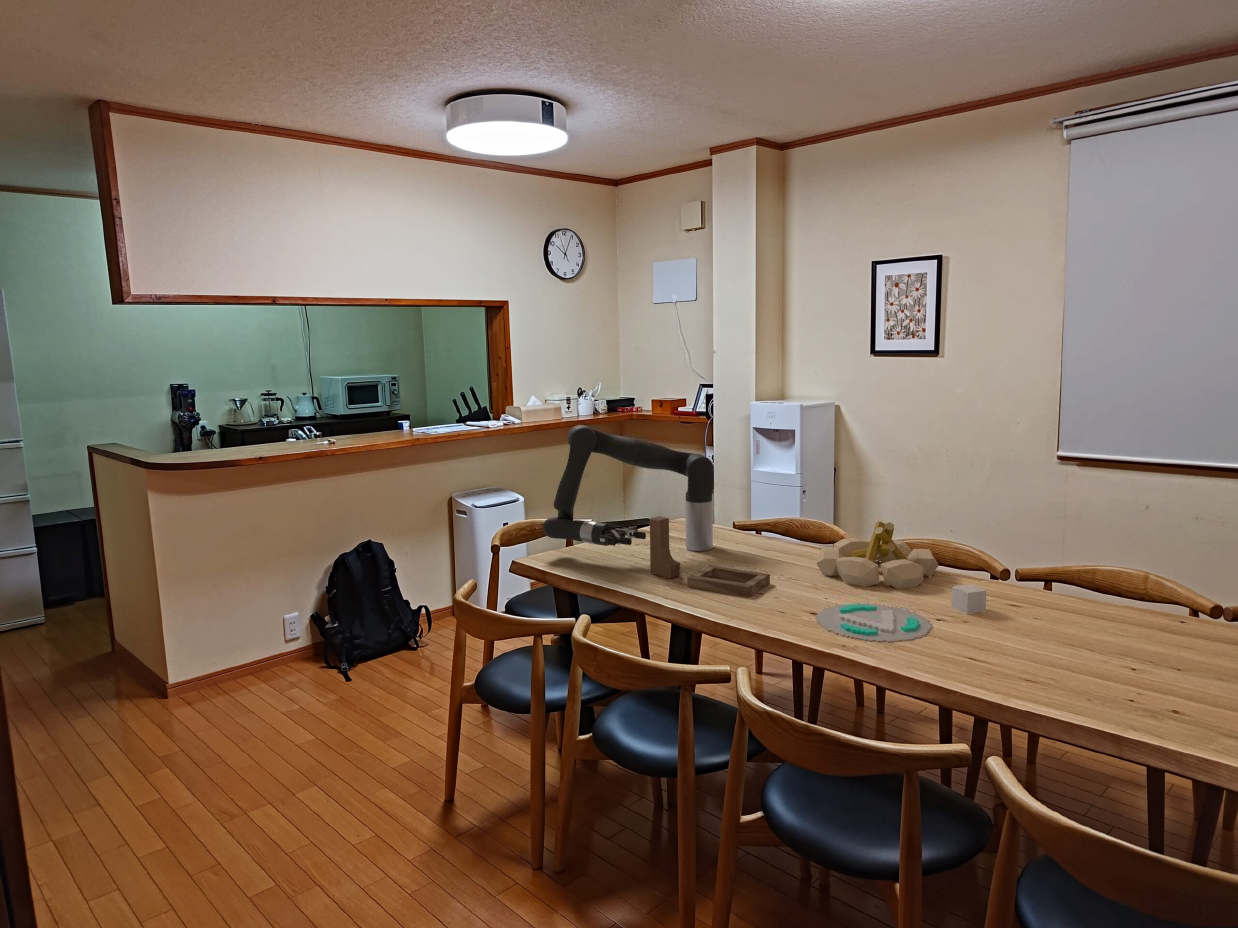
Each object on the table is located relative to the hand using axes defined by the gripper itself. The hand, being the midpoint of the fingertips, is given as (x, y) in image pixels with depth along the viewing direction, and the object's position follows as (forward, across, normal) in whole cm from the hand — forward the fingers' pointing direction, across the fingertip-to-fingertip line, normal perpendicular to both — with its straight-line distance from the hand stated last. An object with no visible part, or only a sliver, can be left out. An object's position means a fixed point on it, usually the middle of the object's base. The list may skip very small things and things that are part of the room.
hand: (638, 538), depth 261 cm
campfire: (+66, +34, +11) cm, 75 cm away
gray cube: (+97, +12, +11) cm, 98 cm away
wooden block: (+10, 0, +11) cm, 15 cm away
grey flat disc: (+78, -10, +11) cm, 79 cm away
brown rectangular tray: (+32, 0, +11) cm, 34 cm away
